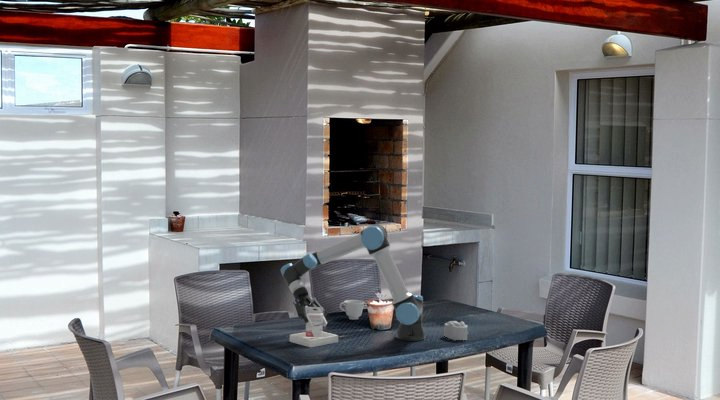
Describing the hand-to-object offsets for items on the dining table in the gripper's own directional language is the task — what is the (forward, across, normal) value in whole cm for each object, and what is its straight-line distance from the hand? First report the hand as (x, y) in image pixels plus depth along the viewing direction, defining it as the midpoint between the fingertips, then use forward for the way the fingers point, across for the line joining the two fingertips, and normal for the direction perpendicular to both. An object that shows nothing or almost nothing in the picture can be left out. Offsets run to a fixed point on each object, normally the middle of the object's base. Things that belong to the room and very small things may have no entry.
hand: (318, 326), depth 454 cm
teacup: (-18, -57, -30) cm, 67 cm away
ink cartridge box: (+2, 0, -7) cm, 7 cm away
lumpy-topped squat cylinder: (+32, -67, +19) cm, 76 cm away
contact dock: (+4, 0, -8) cm, 9 cm away
